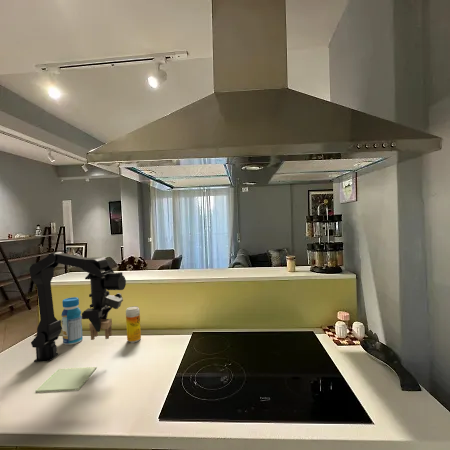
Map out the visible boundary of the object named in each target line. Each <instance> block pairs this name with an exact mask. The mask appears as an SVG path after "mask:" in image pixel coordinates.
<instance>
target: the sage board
mask: <svg viewBox="0 0 450 450" xmlns="http://www.w3.org/2000/svg"><path fill="white" fill-rule="evenodd" d="M96 370H97V367H96V366H89V367H88V366H87V367H71V368H67V367H66V368H58V369H57V370H56V371H55V372H53V374H52V375H51V376H49V378H47V379H46V380H45V381H44V382H43V383H42V384H40V386H39V387H38V388H37V389H35V393H47V392H68V391H69V392H70V391H79V390H80V389H81V388H82V387H83V386H84V384H85V383H86V382H87V381H88V379H90V377H91V376H92V374H94V372H95V371H96Z"/></svg>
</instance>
